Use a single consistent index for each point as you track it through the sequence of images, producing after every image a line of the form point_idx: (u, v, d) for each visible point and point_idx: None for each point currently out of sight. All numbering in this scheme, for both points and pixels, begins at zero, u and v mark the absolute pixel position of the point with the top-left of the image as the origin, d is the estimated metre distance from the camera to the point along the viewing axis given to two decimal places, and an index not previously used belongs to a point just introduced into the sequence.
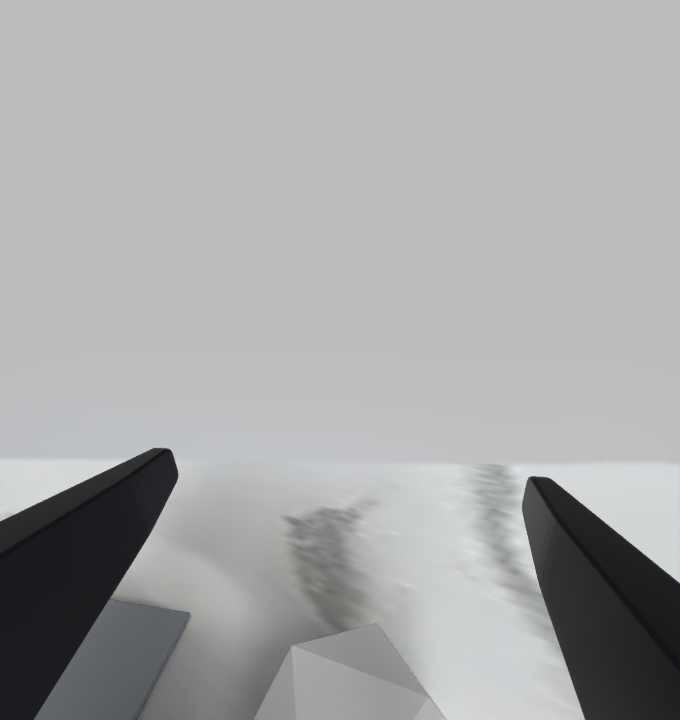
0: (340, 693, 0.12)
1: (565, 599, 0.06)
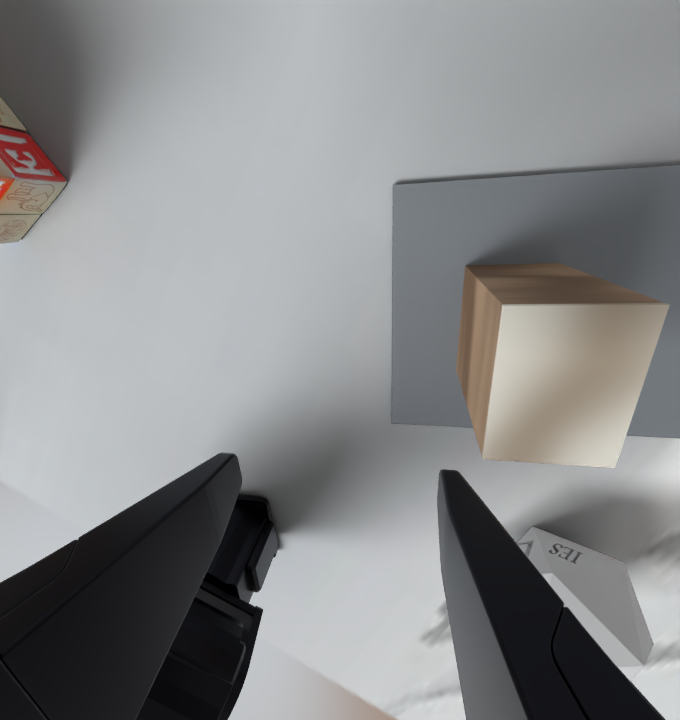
0: None
1: (452, 584, 0.06)
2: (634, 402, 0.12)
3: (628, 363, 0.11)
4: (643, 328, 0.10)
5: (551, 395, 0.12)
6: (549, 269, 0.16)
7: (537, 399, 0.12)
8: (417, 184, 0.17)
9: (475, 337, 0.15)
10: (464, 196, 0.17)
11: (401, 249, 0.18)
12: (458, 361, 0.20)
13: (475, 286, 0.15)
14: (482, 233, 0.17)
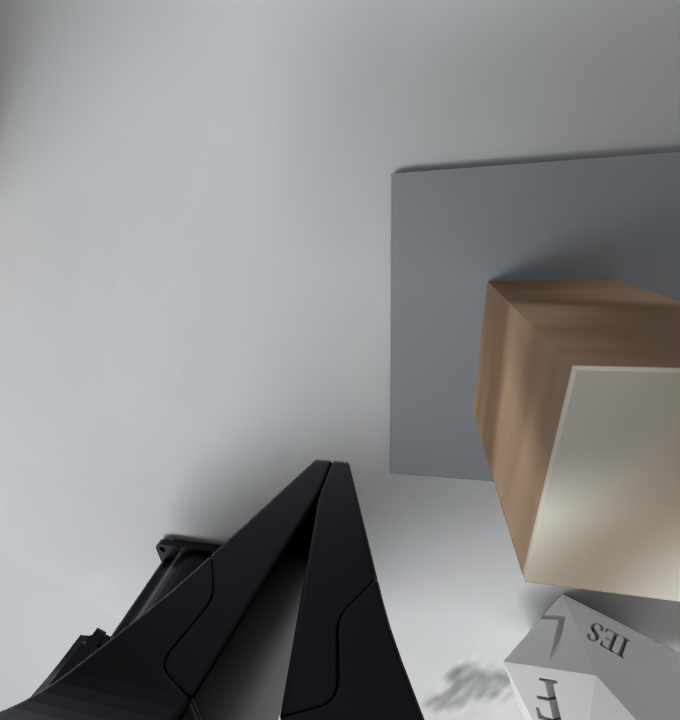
0: None
1: None
2: None
3: None
4: None
5: (643, 505, 0.07)
6: (609, 290, 0.11)
7: (619, 509, 0.07)
8: (425, 172, 0.12)
9: (507, 388, 0.11)
10: (489, 188, 0.12)
11: (403, 259, 0.14)
12: (476, 403, 0.15)
13: (507, 315, 0.11)
14: (512, 239, 0.13)
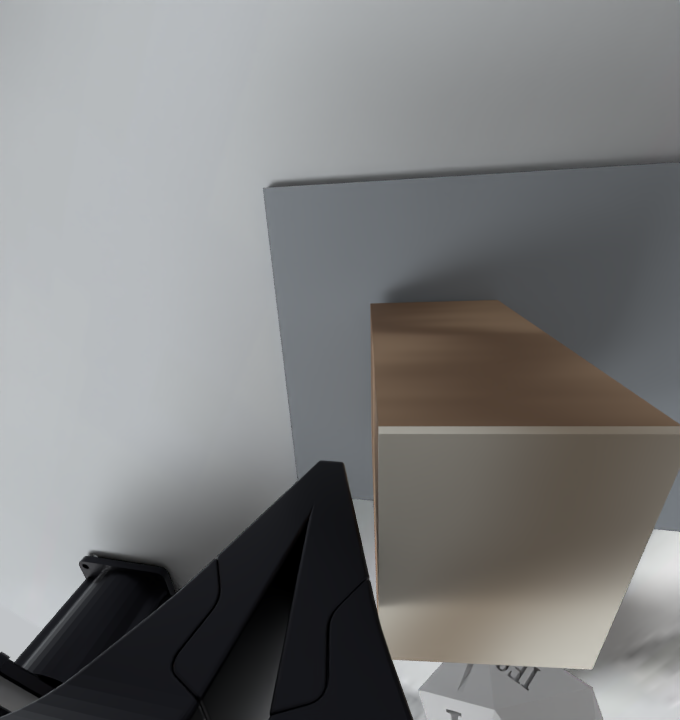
0: None
1: None
2: (624, 582, 0.06)
3: (615, 528, 0.06)
4: (643, 473, 0.05)
5: (482, 574, 0.06)
6: (482, 314, 0.11)
7: (458, 580, 0.07)
8: (295, 187, 0.12)
9: None
10: (360, 205, 0.12)
11: (285, 276, 0.13)
12: None
13: (372, 345, 0.10)
14: (389, 257, 0.12)
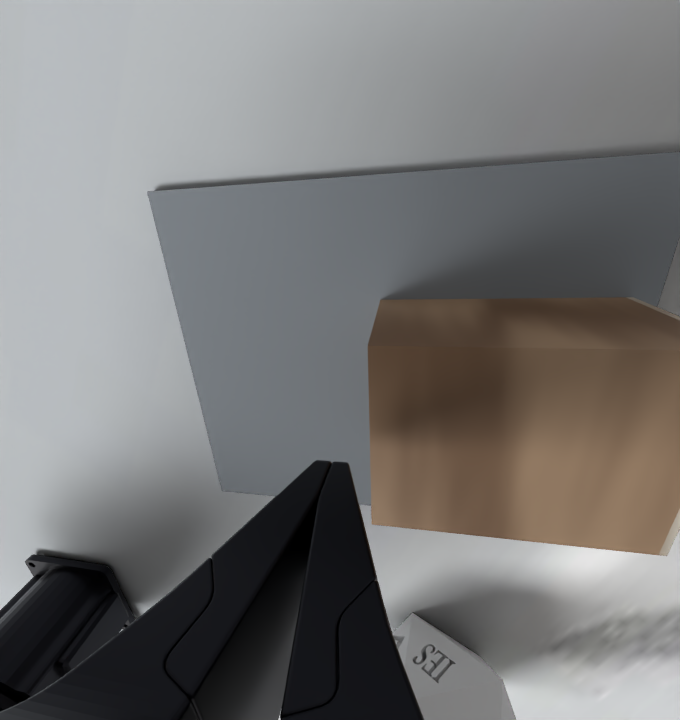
0: None
1: None
2: None
3: None
4: None
5: None
6: (431, 307, 0.11)
7: None
8: (177, 191, 0.12)
9: (544, 437, 0.09)
10: (240, 208, 0.12)
11: (179, 278, 0.14)
12: (391, 507, 0.10)
13: (507, 363, 0.08)
14: (274, 258, 0.13)
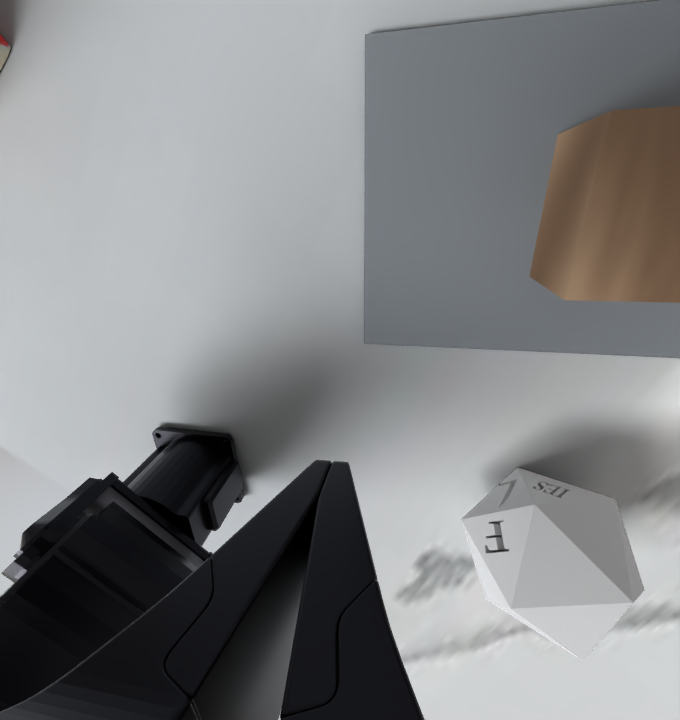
0: (591, 625, 0.16)
1: None
2: None
3: None
4: None
5: None
6: None
7: None
8: (393, 32, 0.14)
9: None
10: (448, 47, 0.14)
11: (375, 121, 0.16)
12: (587, 279, 0.13)
13: None
14: (468, 97, 0.15)
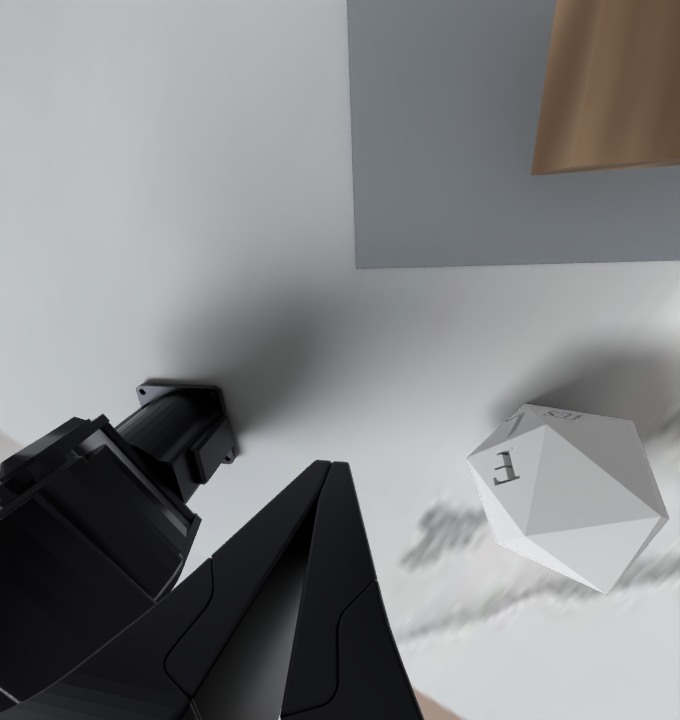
0: (615, 549, 0.15)
1: None
2: None
3: None
4: None
5: None
6: None
7: None
8: None
9: None
10: None
11: (358, 3, 0.15)
12: (597, 137, 0.12)
13: None
14: None
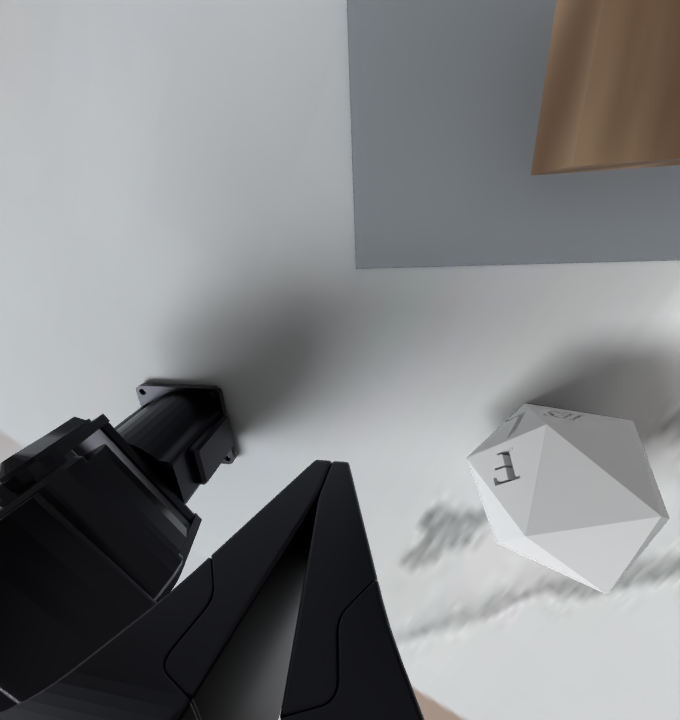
0: (615, 549, 0.15)
1: None
2: None
3: None
4: None
5: None
6: None
7: None
8: None
9: None
10: None
11: (358, 3, 0.15)
12: (597, 137, 0.12)
13: None
14: None
